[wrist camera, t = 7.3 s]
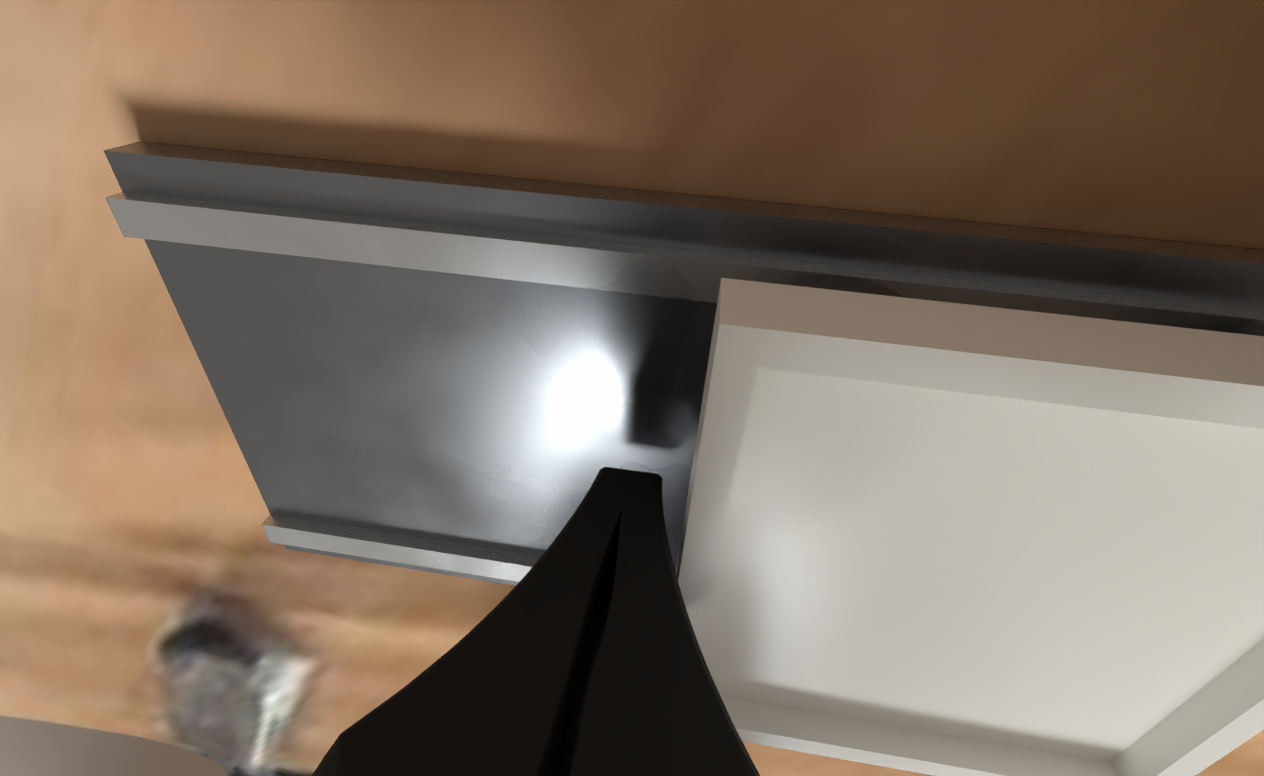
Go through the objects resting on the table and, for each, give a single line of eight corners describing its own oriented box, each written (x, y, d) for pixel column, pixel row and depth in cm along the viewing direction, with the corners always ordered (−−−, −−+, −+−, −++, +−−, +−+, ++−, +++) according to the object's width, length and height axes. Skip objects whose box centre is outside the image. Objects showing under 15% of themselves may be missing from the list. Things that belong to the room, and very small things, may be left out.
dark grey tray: (1086, 652, 17) (1133, 739, 15) (301, 529, 19) (251, 591, 17) (1449, 267, 10) (1632, 336, 8) (138, 141, 12) (20, 170, 10)
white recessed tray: (1078, 689, 15) (1140, 812, 13) (665, 622, 16) (654, 725, 14) (1447, 321, 9) (1699, 436, 6) (722, 247, 10) (719, 324, 7)
